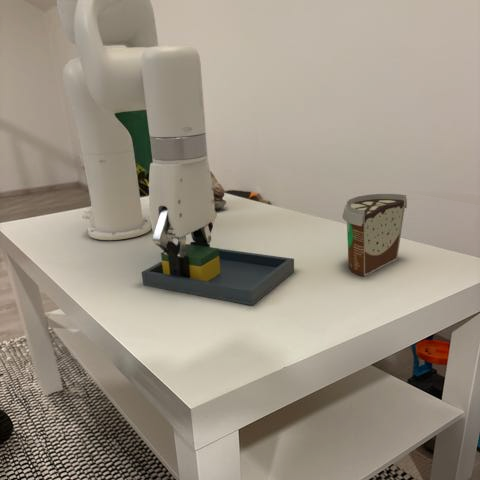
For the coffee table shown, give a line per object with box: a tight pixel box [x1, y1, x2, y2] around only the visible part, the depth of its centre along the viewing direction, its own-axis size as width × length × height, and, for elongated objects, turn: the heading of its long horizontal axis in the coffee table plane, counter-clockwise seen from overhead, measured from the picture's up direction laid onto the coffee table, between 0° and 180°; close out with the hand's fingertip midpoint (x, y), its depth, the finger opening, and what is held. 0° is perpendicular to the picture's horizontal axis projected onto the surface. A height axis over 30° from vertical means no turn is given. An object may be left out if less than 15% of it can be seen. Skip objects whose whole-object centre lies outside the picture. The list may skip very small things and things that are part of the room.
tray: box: [141, 247, 295, 306], centre depth 77 cm, size 19×14×2 cm
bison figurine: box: [210, 170, 227, 210], centre depth 115 cm, size 12×7×10 cm, turn 39°
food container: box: [342, 193, 408, 278], centre depth 78 cm, size 12×6×10 cm, turn 134°
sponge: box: [160, 243, 220, 281], centre depth 76 cm, size 7×5×4 cm
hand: (191, 273), depth 77 cm, fingers closed on sponge, 5 cm apart
